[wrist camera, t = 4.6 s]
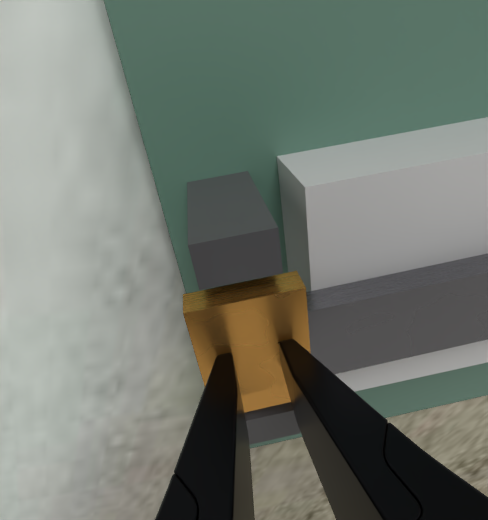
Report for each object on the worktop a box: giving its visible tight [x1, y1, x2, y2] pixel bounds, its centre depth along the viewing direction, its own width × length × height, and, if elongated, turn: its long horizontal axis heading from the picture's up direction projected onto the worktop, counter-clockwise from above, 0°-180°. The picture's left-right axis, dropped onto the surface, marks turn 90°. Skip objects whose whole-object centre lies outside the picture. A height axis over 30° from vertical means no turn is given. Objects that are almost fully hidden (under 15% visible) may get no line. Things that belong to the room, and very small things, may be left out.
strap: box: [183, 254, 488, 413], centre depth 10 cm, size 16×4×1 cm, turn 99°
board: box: [104, 0, 488, 448], centre depth 12 cm, size 22×18×6 cm
